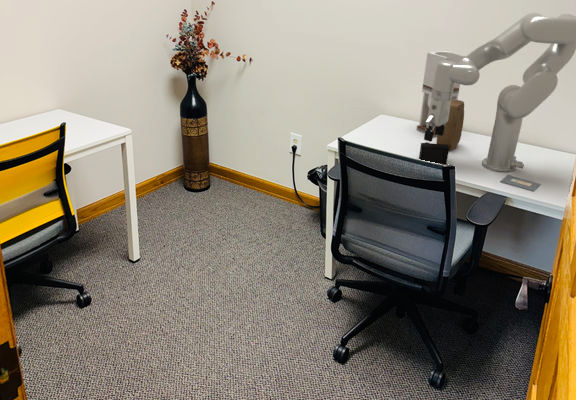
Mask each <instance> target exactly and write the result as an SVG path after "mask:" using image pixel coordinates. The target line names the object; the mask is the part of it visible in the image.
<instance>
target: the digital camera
mask: <svg viewBox="0 0 576 400" xmlns="http://www.w3.org/2000/svg"><path fill="white" fill-rule="evenodd" d="M449 153H450V150H449V147H448V145H447V144H436V143H432V142H429V141H426V142H420V148H419V155H418V160H419V159H421V160H425V161H430V162H435V163H440V164H439V165H447V163H448V157H449Z"/></svg>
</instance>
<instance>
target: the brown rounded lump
mask: <svg viewBox="0 0 576 400" xmlns="http://www.w3.org/2000/svg"><path fill="white" fill-rule="evenodd" d="M464 122H465V101H463V100H459V99H458V100H453V99H452V100H451V105H450V112H449V119H448V122H447V123H446V125H445V128H444V133H443V136H440V135H437V137H436V143H435V144H447V145H448V147H449V151H454V150H455V149H457V147H458V145H459V143H460V142H461V139H462V138H461V137H462V132H463V128H464V127H463V126H464Z"/></svg>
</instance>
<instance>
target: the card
mask: <svg viewBox="0 0 576 400" xmlns="http://www.w3.org/2000/svg"><path fill="white" fill-rule="evenodd" d="M499 183H501V184H505V185H509V186H512V187H516V188H520V189H523V190H526V191H530V192H535V191H536V190H537V189H538V188H539V187H540V186H541V185H542V183H540V182H536V181H533V180H532V181H531V180H529V179H524V178H520V177H518V176H515V175H511V174H507V175H505V176H504V177H503V178H502V179H501V180H500V181H499Z"/></svg>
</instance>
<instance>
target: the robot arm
mask: <svg viewBox="0 0 576 400" xmlns="http://www.w3.org/2000/svg"><path fill="white" fill-rule="evenodd" d="M531 42H532V43H536V44H537V43H539V44H550V45H549V46H548V48H546V50H544V52H543V53H541V55H540V56H539V57H538V58H537V59H536V60H534V61H533V63H531V65H530V66H528V67H527V68H526V69H525V71H524V72H523V74H522V82H523V83H522V85H521V86H519V85H516V84H509V85H506V86H505V87H504V88H503V89H502V90H501V91H500V93H499V94H498V96H497V97H498V98H497V101H496V102H497V103H496V112H495V119H494V123H493V129H492V132H491V139H490V143H489V147H488V153H487V157H486V158H483V159H482V162H481V165H482V166H483V167H484V168H486V169H489V170H491V171H494V172H501V173H509V172H514V171H515V170H516V169H517V168H518V169H521V170H523V169H524V167H525V164H524V162H523V161H519V160H517V156H515V154H516V150H517V146H518V142H519V137H520V133H521V129H522V125H523V119H524V118H526V117H527V116H529V115H530V114H531V113H533V112H534V111H535V110H536V109H537V108H538V107H539V106H540V105H541V104H543V102H545V101H546V100H547V99H548V98H549V97H550V96H552V94H553V92H555V90H556V88H557V85H558V81H559V79H558V74H559V72H561V70H562V69H563V68H564V67H565V66H566V65H567V64H568V63H569V61H571V59H572V58H573V56H574V54H575V52H576V15H574V14H571V13H564V14H560V15H559V16H558V17H553V16H552V17H551V16H543V15H541V14H540V13H536V12H532V13H528V14H526V15H524V16H523V17H521V18H520V19H519V20H517V21H516V22H515V23H514V24H512V25H511V26H509V27H508V28H507V29H505V30H504V31H503V32H502V33H499V35H497V36H496V37H494V38H493V39H491V40H488V42H486V43H484V44H482V45H480V46H478V47H477V48H475V49H474V50H473V51H471V52H470V53H468V54H467V55H465V57H464V58H463V59H462V60H461V61H459V62H458V64H457V63H455V62H452V61H445V60H444V61H439V62H438V64H437V67H436V72H435V78H434V83H433V89H432V94H431V98H432V101H431V104H430V108H429V112H428V117H427V121H426V126H425V127H426V128H425V134H424V137H423V140H424V141H426V142H429V143H432V142H433V134H434V132H433V130H434V128H435V126H436V131H435V134H437V135H440V136H443V133H444V128H445V125H446V123H447V122H448V119H449V112H450V105H451V99H452V94H453V89H454V84H455V83H458V84H460V85H462V86H473V85H475V84H476V83H478V81H479V80H480V75H481V74H480V70H482V69H483V68H485V67H486V66H487V65H489V64H491V63H494V62H496V61H500V60H501V61H502V60H506V59H509V58H511V57H512V56H513V55H514V54H516V53H518V52H519V51H520V50H521V49H522V48H524V47H525V46H527V45H528V44H529V43H531ZM433 123H434V124H433ZM430 125H431V126H432V128H431V126H430Z"/></svg>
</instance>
